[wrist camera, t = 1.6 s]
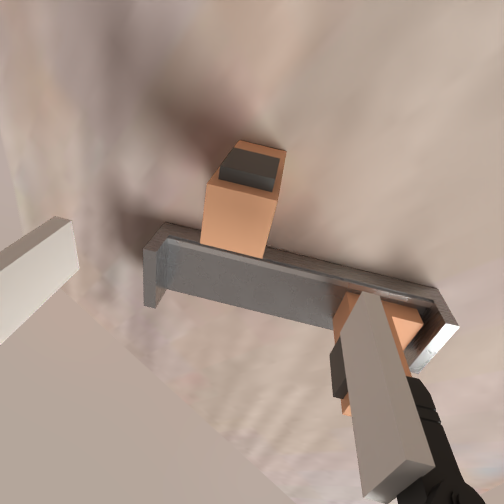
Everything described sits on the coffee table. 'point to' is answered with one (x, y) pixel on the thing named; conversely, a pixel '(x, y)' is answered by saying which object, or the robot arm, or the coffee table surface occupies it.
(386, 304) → the fixed finger
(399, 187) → the coffee table surface
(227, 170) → the block
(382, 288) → the rail
